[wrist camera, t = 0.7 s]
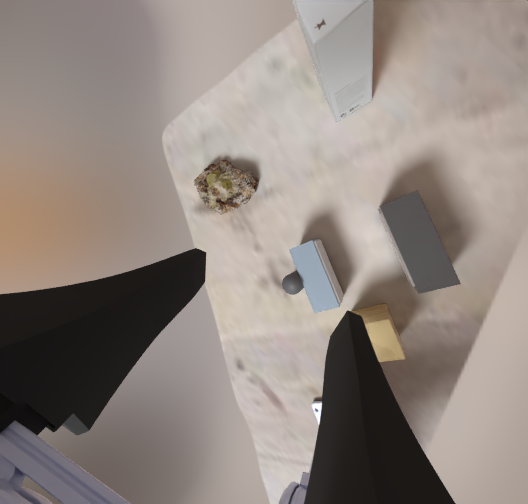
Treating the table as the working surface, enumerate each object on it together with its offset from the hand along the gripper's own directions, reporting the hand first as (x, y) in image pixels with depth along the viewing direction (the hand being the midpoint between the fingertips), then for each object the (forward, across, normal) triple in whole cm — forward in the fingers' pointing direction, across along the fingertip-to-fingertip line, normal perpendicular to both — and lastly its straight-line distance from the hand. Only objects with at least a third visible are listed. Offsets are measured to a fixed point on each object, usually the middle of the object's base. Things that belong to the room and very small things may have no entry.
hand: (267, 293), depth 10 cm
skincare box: (+25, +2, -10) cm, 27 cm away
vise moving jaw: (+16, -3, +10) cm, 19 cm away
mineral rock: (+22, +14, +5) cm, 27 cm away
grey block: (+18, -11, +2) cm, 21 cm away
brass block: (+14, -12, +12) cm, 21 cm away
